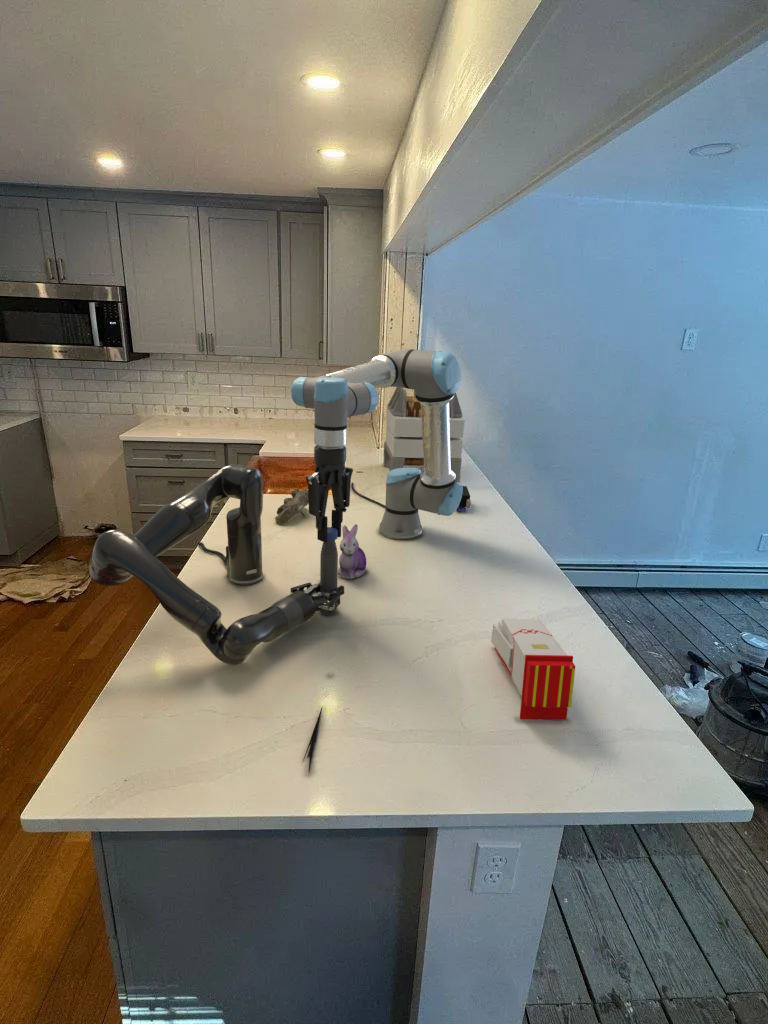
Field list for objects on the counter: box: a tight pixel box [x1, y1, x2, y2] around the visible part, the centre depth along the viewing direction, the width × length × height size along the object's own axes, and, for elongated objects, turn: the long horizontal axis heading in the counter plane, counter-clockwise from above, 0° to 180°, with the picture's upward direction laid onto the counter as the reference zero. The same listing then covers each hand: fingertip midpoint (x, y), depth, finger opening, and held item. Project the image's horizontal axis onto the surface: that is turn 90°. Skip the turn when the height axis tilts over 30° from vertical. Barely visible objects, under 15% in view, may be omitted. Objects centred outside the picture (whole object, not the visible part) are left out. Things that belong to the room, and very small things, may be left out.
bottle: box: [319, 540, 339, 616], centre depth 144 cm, size 4×4×22 cm
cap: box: [327, 526, 339, 541], centre depth 140 cm, size 4×4×2 cm
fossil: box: [274, 488, 309, 525], centre depth 211 cm, size 22×10×15 cm
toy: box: [490, 617, 576, 721], centre depth 122 cm, size 12×13×30 cm
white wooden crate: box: [383, 387, 465, 483], centre depth 268 cm, size 34×33×41 cm
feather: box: [301, 673, 332, 771], centre depth 108 cm, size 2×28×2 cm
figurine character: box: [456, 485, 472, 513], centre depth 228 cm, size 7×8×15 cm
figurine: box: [338, 523, 368, 580], centre depth 166 cm, size 9×10×15 cm
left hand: (335, 586), depth 148 cm, fingers closed on bottle, 4 cm apart
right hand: (329, 537), depth 141 cm, fingers closed on cap, 4 cm apart
